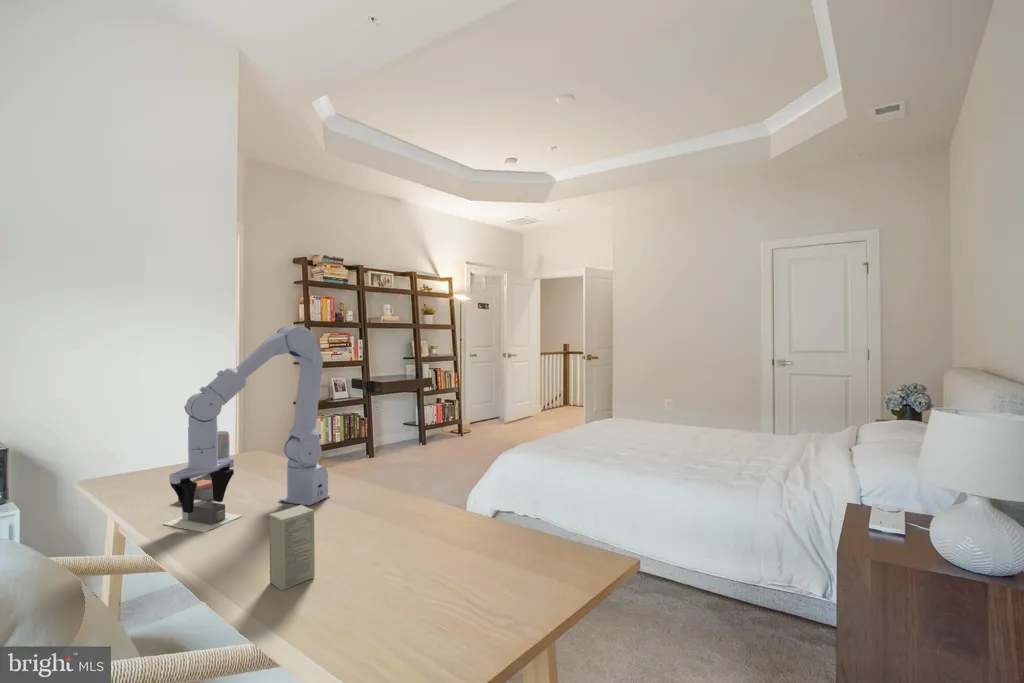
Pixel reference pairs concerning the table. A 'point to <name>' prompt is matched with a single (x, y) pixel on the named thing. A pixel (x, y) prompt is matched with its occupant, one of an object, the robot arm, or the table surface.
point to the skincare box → (291, 546)
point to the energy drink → (223, 445)
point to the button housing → (203, 494)
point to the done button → (203, 484)
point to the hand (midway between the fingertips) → (203, 506)
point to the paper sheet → (200, 526)
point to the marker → (206, 512)
